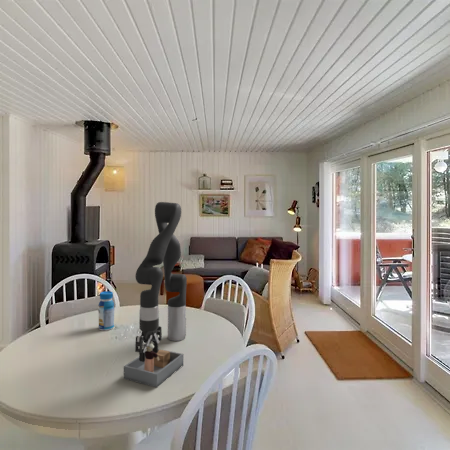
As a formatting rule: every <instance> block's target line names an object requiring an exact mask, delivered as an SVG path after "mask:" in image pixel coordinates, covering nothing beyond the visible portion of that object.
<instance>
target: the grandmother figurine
mask: <svg viewBox="0 0 450 450" xmlns="http://www.w3.org/2000/svg"><path fill="white" fill-rule="evenodd" d="M153 348H154V345H153V342H150V343H149V345H148V347H147V348H146V350H145V357H146V358H145V366H144V370H146V371H150V372H154V358H153V357H155V358H156V359H157V361H159V357H158V355H157V354H156V353H155V352H153V351H152V349H153Z"/></svg>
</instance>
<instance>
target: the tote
mask: <svg viewBox="0 0 450 450" xmlns="http://www.w3.org/2000/svg"><path fill="white" fill-rule="evenodd" d="M159 350H163V349H161V348H158V351H159ZM164 350H165V351H169V352H170V363H169V364H168V365H166V366H165V367H164V368H161V367H157V366H154V372H150V371H146V370H144V366H145V361H144V362H142V361H140V360H139V356H137V357H135V358H133V360H130V361H129V362H128V363H126V364H124V365H123V379H124V380H128V381H131V382H136V383H139V384H142V385H147V386H150V387H153V388H158V387H159V386H160V385H162V384H163V383H164V382H166V381H167V380H168V379H169V378H170V377H171V376H172V374H173V373H174V372H175V371H176V372H178V371H179V370H180V369H181V368H182V367H183V366H184V353H182V352H175V351H173V350H172V351H171V350H166V349H164ZM152 351H153V349H152ZM145 358H146V357H145ZM181 366H182V367H181ZM180 367H181V368H180ZM179 368H180V369H179ZM178 369H179V370H178ZM176 372H175V373H176ZM175 373H174V374H175ZM174 374H173V375H174ZM167 378H168V379H167ZM166 379H167V380H166Z"/></svg>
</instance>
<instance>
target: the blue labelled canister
mask: <svg viewBox="0 0 450 450" xmlns="http://www.w3.org/2000/svg"><path fill="white" fill-rule="evenodd" d="M113 294H114V292H113V291H108V290H107V291H101V292H100V293H99V302H98V308H97V309H98V310H97V312H98V330H99V331H110V330H113V329H114V328H115V307H114V306H115V301H114V300H113V298H114V295H113ZM113 327H114V328H113ZM112 328H113V329H112Z"/></svg>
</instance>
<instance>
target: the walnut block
mask: <svg viewBox="0 0 450 450" xmlns="http://www.w3.org/2000/svg"><path fill="white" fill-rule="evenodd" d="M165 350H166V349H162V350H159V351H158V353H156V354H157V355H158V357H159V361H157V359H156V358H155V357H153V358H154V366H157V367H161V368H164V367H165V366H166V365H168V364H169V363H170V352H169V351H170V350H167V351H165Z"/></svg>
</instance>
